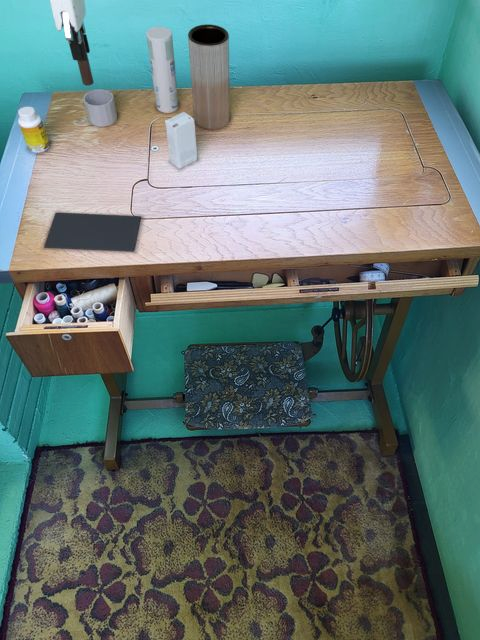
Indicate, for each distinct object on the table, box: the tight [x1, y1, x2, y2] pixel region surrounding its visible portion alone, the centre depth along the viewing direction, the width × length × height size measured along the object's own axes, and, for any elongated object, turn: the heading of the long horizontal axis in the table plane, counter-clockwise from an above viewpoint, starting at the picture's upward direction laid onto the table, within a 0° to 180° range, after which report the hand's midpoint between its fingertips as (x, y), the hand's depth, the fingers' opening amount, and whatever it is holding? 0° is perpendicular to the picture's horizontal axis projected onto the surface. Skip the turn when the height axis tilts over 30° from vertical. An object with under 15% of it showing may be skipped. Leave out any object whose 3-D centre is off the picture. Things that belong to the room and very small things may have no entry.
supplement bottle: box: [17, 106, 50, 154], centre depth 133 cm, size 6×6×10 cm
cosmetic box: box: [164, 111, 198, 170], centre depth 131 cm, size 6×4×12 cm
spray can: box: [145, 26, 179, 114], centre depth 141 cm, size 6×6×20 cm
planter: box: [187, 23, 231, 130], centre depth 137 cm, size 10×10×23 cm
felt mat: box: [43, 212, 142, 253], centre depth 121 cm, size 20×11×1 cm, turn 89°
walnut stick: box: [72, 29, 94, 86], centre depth 123 cm, size 3×3×12 cm
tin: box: [82, 88, 118, 128], centre depth 142 cm, size 8×8×6 cm
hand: (81, 55), depth 122 cm, fingers closed on walnut stick, 2 cm apart
